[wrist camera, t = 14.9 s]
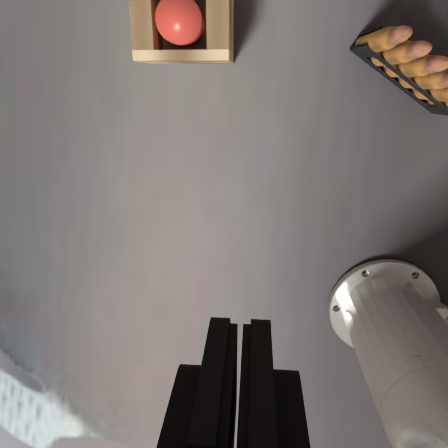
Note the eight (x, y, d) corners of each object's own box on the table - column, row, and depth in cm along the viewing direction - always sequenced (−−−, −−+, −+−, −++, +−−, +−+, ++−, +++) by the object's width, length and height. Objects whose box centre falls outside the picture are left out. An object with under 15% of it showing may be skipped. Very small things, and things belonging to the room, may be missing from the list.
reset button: (205, 1, 32) (199, -9, 29) (206, 47, 34) (200, 43, 30) (164, 1, 33) (153, -8, 29) (166, 47, 34) (156, 43, 30)
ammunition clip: (348, 49, 36) (389, 35, 25) (361, 31, 36) (409, 8, 24) (432, 113, 38) (507, 128, 27) (446, 97, 37) (528, 105, 26)
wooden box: (233, -7, 35) (228, -26, 29) (233, 63, 37) (228, 60, 31) (149, -5, 36) (126, -24, 29) (154, 64, 38) (133, 60, 32)
